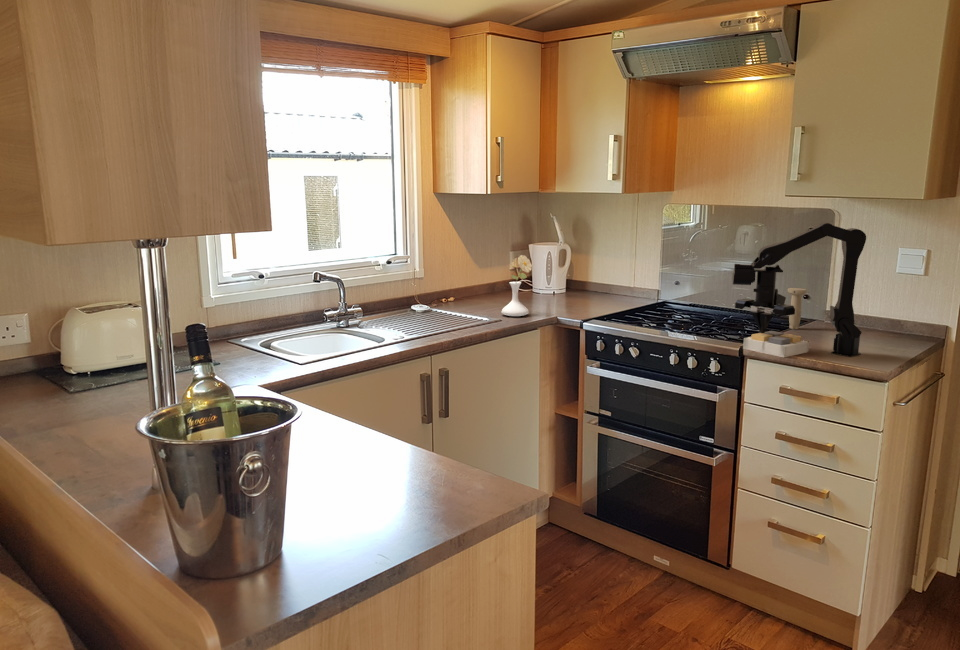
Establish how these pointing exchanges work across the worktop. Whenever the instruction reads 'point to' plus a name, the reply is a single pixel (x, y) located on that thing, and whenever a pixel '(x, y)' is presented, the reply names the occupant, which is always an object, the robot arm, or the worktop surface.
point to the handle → (796, 306)
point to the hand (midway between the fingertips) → (762, 333)
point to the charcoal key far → (774, 333)
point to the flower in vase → (515, 306)
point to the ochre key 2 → (792, 338)
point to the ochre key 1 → (761, 337)
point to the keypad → (776, 347)
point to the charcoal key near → (779, 340)
